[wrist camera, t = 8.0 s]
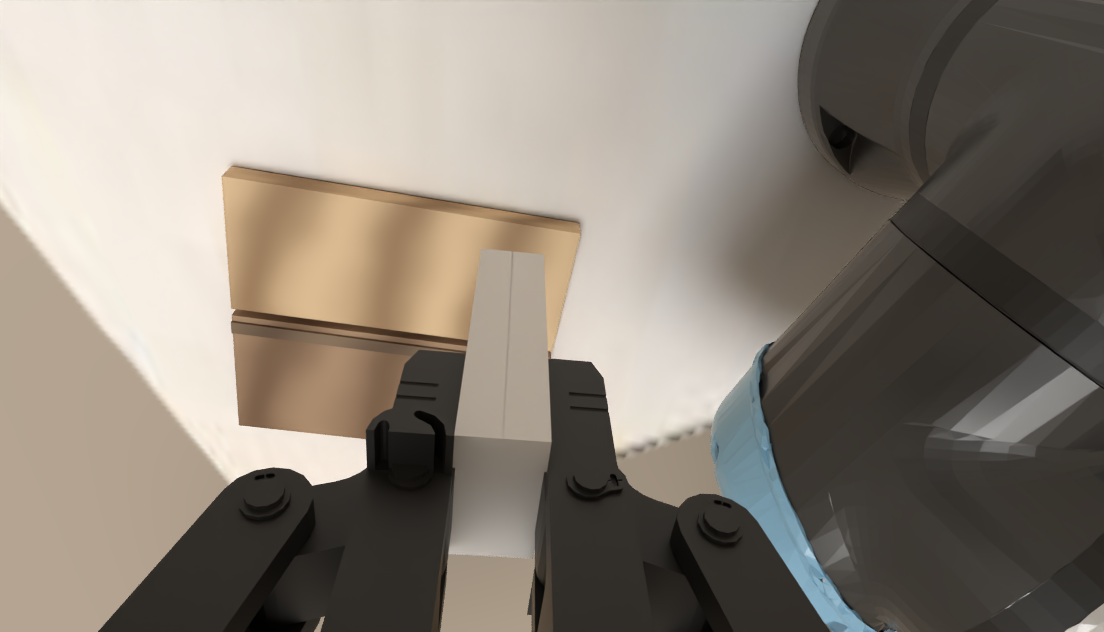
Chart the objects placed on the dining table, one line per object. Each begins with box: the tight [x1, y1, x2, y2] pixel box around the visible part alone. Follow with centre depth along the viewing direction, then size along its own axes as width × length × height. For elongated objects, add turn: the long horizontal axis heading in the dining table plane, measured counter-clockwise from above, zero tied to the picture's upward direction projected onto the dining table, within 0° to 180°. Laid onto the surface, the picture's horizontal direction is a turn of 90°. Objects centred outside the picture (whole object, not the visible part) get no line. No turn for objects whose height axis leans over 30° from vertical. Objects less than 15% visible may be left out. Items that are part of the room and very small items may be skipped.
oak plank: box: [222, 166, 581, 351], centre depth 40 cm, size 20×9×2 cm, turn 79°
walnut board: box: [231, 309, 551, 439], centre depth 45 cm, size 20×9×2 cm, turn 79°
